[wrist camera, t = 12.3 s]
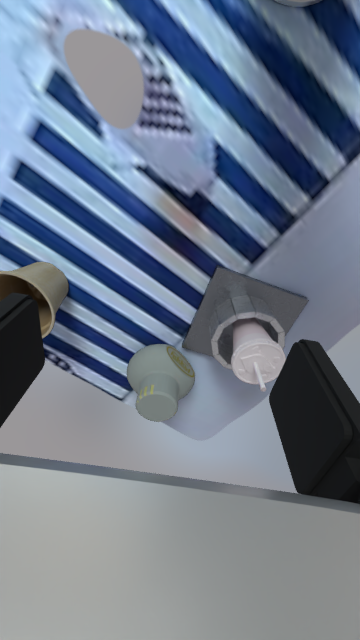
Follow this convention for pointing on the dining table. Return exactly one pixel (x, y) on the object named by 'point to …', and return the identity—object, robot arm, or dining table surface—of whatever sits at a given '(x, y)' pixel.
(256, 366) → the smoothie
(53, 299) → the flower pot
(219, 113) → the dining table surface
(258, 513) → the robot arm
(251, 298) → the duct collar
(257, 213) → the dining table surface
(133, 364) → the air freshener
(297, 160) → the dining table surface
